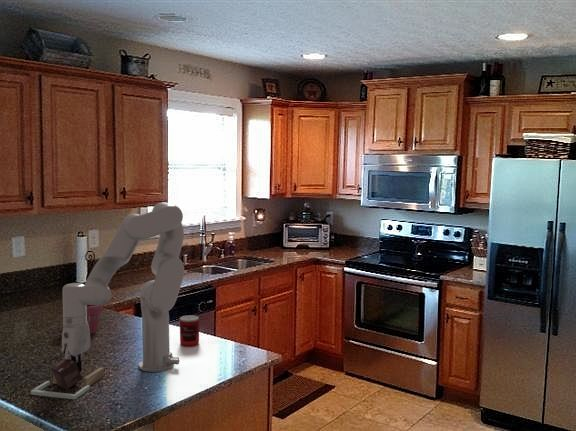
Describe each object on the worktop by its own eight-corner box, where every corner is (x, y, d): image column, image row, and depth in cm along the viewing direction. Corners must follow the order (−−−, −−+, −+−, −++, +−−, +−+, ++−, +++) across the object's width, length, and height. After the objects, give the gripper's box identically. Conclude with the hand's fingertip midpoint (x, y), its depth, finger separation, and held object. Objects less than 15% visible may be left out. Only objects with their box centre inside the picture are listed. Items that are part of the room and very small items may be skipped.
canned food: (191, 339, 239) (191, 313, 237) (203, 344, 233) (202, 317, 232) (176, 343, 233) (175, 317, 232) (187, 348, 228) (187, 321, 226)
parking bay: (90, 388, 188) (90, 385, 188) (74, 399, 180) (74, 395, 179) (47, 384, 191) (47, 380, 191) (30, 394, 183) (30, 390, 183)
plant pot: (61, 334, 244) (60, 305, 243) (84, 325, 257) (83, 297, 256) (88, 338, 239) (87, 308, 238) (110, 329, 252) (109, 300, 251)
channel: (104, 375, 199) (103, 367, 199) (87, 387, 189) (87, 378, 189) (71, 372, 202) (70, 364, 201) (53, 383, 192) (53, 374, 192)
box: (73, 374, 195) (66, 357, 192) (83, 379, 191) (76, 361, 188) (57, 385, 191) (50, 367, 188) (67, 390, 187) (59, 371, 184)
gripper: (70, 327, 185) (72, 381, 187) (97, 315, 199) (98, 365, 201) (51, 325, 187) (52, 379, 189) (78, 313, 201) (80, 363, 203)
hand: (76, 372), depth 195 cm, fingers closed
